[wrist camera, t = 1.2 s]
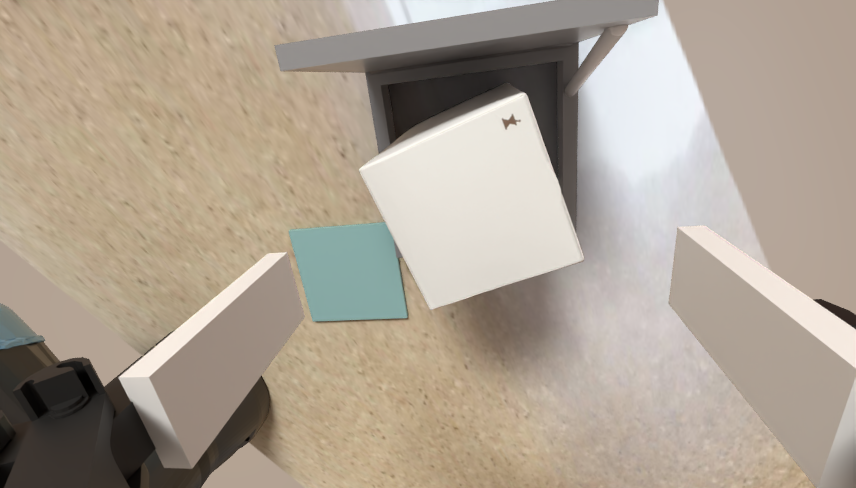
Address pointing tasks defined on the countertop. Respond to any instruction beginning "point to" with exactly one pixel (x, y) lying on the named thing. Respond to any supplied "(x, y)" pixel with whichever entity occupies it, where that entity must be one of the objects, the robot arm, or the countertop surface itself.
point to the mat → (350, 272)
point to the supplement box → (474, 199)
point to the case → (480, 58)
